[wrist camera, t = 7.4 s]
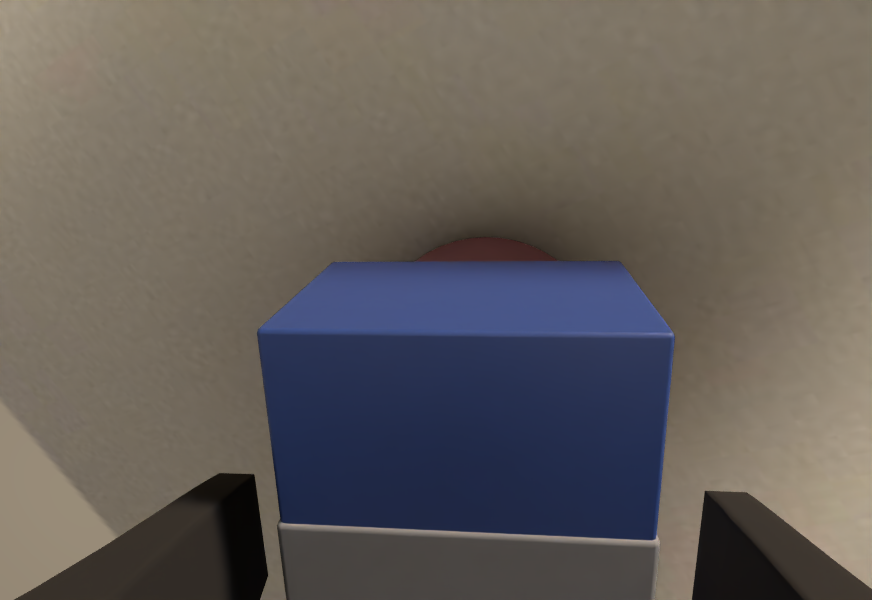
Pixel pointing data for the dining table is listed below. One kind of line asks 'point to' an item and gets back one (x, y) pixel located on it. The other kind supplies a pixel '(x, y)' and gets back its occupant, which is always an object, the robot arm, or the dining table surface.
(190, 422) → the dining table surface
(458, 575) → the block
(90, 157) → the dining table surface
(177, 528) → the robot arm
